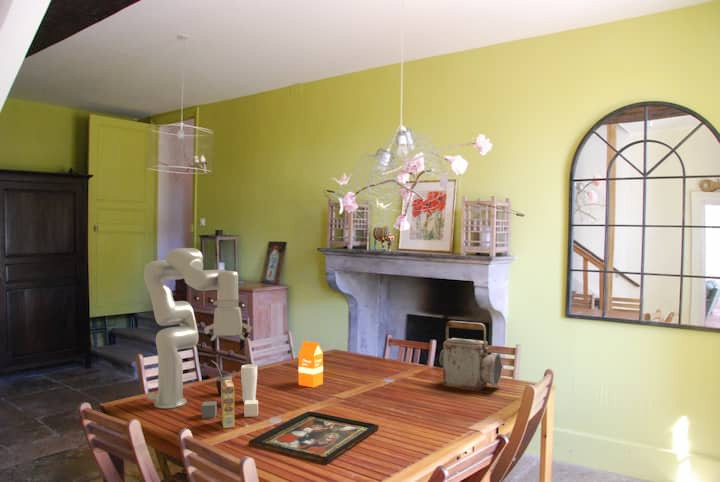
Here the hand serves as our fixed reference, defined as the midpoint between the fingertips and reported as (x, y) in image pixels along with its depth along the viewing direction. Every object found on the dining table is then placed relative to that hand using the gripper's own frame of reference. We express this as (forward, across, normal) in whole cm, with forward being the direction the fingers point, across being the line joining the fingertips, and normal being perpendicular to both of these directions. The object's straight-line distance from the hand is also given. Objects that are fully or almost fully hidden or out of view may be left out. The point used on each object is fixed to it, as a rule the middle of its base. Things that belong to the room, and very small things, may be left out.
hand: (228, 350), depth 200 cm
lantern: (+28, +106, +40) cm, 117 cm away
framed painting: (+29, +32, -16) cm, 46 cm away
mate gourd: (+27, -6, +39) cm, 48 cm away
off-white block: (+28, +8, +10) cm, 30 cm away
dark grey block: (+27, -8, +10) cm, 30 cm away
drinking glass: (+28, +6, +28) cm, 39 cm away
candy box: (+28, 0, 0) cm, 28 cm away
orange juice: (+28, +33, +51) cm, 67 cm away
